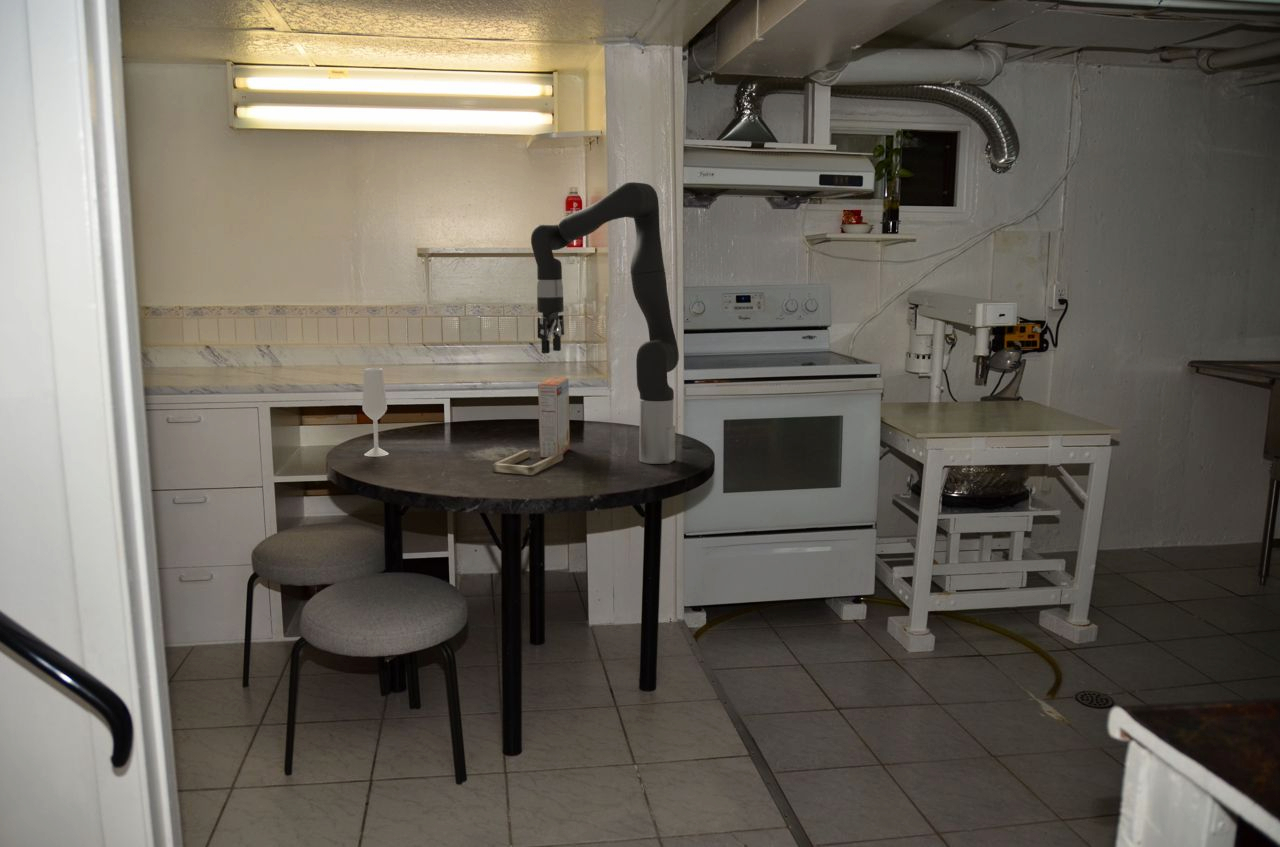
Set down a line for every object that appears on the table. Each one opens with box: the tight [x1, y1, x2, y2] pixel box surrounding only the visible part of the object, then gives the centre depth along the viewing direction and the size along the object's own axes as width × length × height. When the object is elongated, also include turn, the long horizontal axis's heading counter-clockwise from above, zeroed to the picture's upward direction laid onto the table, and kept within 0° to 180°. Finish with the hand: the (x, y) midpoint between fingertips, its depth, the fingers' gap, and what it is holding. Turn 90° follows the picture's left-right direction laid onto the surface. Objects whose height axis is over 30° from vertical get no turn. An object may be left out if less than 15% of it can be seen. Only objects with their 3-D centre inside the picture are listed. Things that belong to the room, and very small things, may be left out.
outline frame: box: [491, 449, 564, 476], centre depth 263 cm, size 11×20×2 cm, turn 161°
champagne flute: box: [361, 367, 389, 457], centre depth 274 cm, size 7×7×24 cm
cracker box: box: [537, 377, 570, 459], centre depth 277 cm, size 14×6×21 cm, turn 171°
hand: (551, 352), depth 285 cm, fingers open, 8 cm apart
